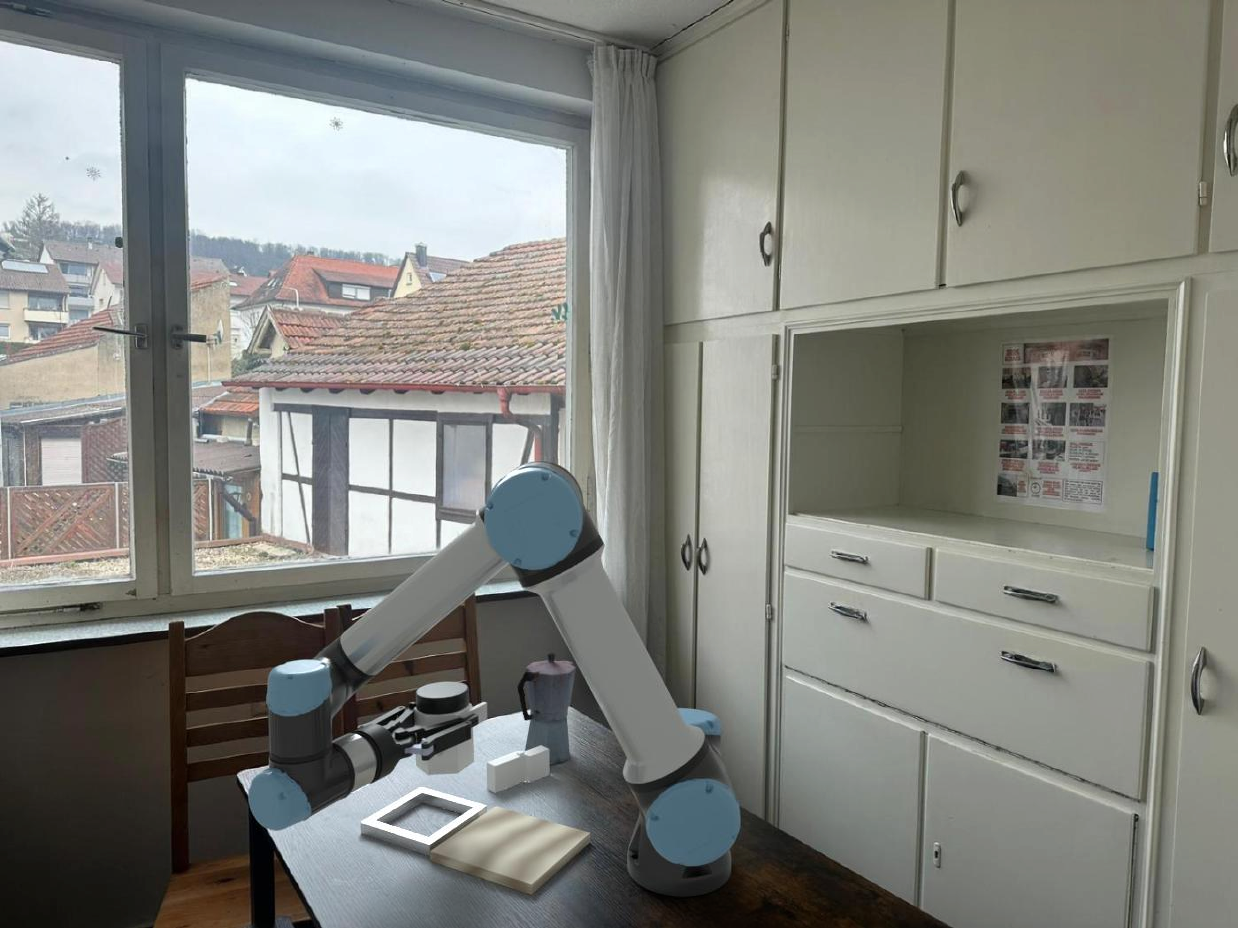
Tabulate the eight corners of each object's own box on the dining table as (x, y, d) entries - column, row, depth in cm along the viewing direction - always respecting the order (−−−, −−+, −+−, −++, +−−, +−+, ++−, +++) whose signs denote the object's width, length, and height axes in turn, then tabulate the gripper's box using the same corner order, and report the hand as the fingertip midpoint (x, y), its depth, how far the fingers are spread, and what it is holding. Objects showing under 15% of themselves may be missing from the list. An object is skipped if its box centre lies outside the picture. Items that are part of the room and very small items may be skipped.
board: (590, 842, 131) (590, 832, 131) (531, 894, 117) (531, 884, 117) (495, 814, 140) (495, 805, 140) (430, 860, 126) (430, 851, 126)
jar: (412, 777, 129) (409, 700, 128) (419, 756, 137) (416, 682, 136) (472, 773, 130) (469, 696, 129) (475, 752, 138) (472, 679, 137)
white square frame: (487, 815, 140) (486, 805, 139) (429, 855, 127) (429, 844, 127) (421, 796, 146) (421, 786, 146) (360, 833, 134) (360, 822, 134)
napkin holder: (478, 801, 146) (478, 769, 145) (480, 773, 157) (480, 742, 156) (566, 796, 148) (566, 764, 147) (562, 768, 159) (562, 738, 158)
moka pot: (590, 748, 167) (590, 648, 165) (542, 778, 154) (541, 669, 152) (551, 738, 172) (550, 641, 170) (501, 766, 159) (500, 661, 157)
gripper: (309, 770, 122) (419, 717, 142) (414, 801, 113) (516, 740, 133) (307, 719, 122) (418, 673, 142) (413, 746, 112) (516, 693, 132)
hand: (466, 706), depth 137 cm, fingers closed on jar, 7 cm apart
